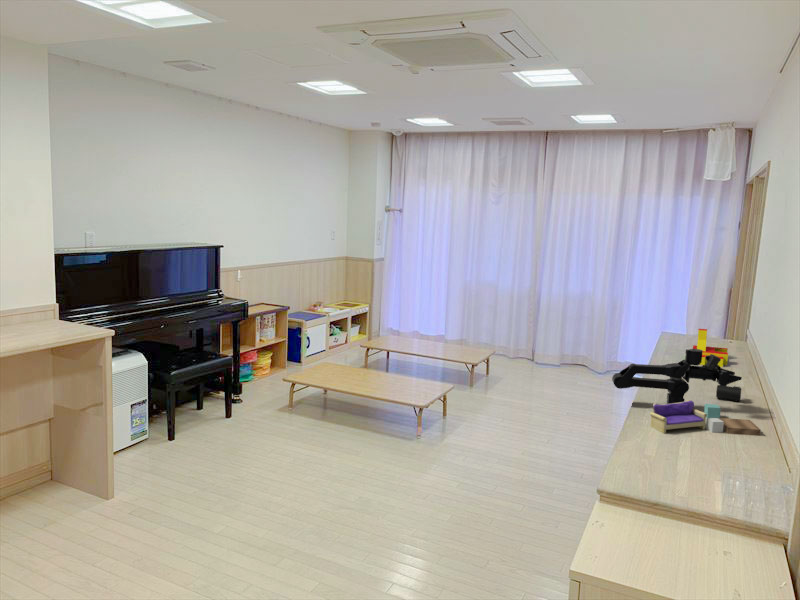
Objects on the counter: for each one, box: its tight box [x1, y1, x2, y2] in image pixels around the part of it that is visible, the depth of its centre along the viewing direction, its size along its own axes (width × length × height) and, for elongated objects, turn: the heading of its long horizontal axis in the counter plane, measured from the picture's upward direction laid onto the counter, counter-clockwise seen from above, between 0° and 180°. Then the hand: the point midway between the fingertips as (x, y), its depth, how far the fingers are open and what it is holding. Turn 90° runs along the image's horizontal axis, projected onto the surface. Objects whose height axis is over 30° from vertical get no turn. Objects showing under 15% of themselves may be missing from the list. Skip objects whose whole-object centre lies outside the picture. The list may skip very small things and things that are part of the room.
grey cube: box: [705, 417, 724, 433], centre depth 249 cm, size 4×4×4 cm
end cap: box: [715, 384, 742, 403], centre depth 289 cm, size 10×7×7 cm
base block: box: [719, 417, 761, 437], centre depth 250 cm, size 12×12×3 cm
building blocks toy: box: [692, 328, 729, 368], centre depth 365 cm, size 19×25×18 cm
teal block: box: [703, 403, 721, 419], centre depth 265 cm, size 5×5×5 cm
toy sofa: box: [649, 399, 707, 434], centre depth 251 cm, size 21×9×10 cm, turn 105°
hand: (738, 375), depth 270 cm, fingers open, 9 cm apart
